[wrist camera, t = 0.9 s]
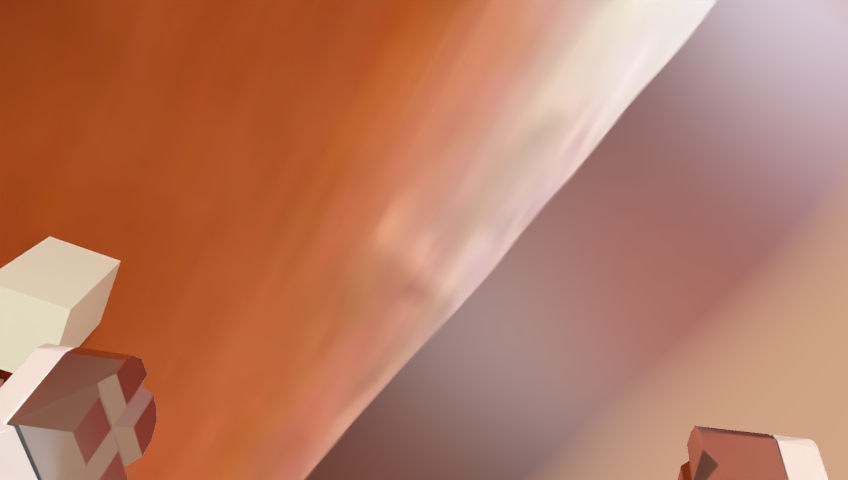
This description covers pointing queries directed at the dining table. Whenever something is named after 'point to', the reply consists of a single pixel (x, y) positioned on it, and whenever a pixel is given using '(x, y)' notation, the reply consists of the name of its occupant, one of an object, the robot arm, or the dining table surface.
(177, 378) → the dining table surface
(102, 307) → the sage block marked
